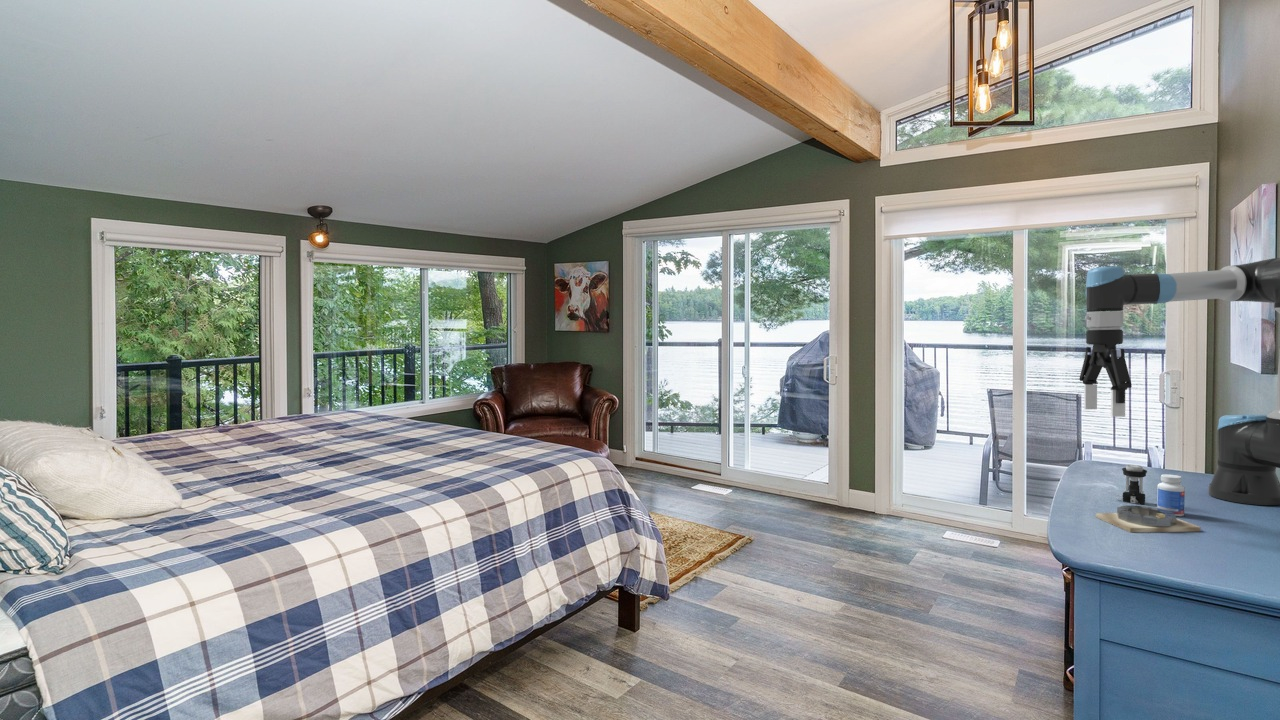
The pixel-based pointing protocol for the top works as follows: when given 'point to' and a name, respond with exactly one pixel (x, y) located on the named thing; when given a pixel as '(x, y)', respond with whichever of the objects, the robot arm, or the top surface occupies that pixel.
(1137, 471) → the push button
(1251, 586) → the top surface
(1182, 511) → the pill bottle
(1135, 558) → the top surface
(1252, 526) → the top surface
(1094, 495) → the top surface
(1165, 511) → the ring
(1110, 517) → the board
